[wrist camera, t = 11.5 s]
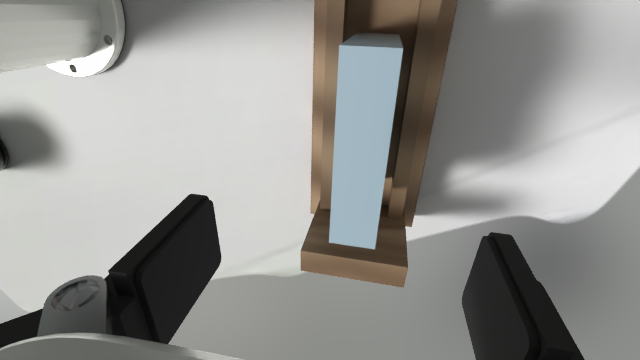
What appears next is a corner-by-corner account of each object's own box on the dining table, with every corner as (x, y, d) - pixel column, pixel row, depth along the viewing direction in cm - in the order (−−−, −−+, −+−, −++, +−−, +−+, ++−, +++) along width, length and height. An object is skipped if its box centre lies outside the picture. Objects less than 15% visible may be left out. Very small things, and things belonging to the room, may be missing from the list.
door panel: (358, 32, 24) (339, 45, 15) (399, 34, 23) (403, 48, 15) (347, 174, 30) (328, 242, 21) (379, 178, 29) (375, 249, 21)
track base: (321, -48, 24) (280, -80, 15) (462, -47, 22) (507, -83, 14) (314, 202, 34) (288, 268, 26) (410, 215, 33) (417, 289, 24)
